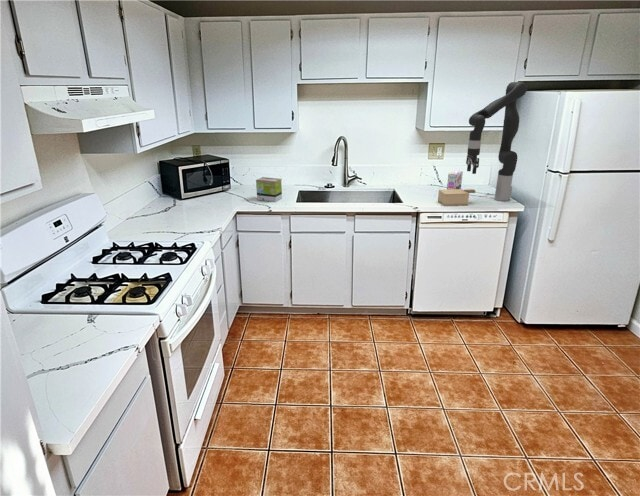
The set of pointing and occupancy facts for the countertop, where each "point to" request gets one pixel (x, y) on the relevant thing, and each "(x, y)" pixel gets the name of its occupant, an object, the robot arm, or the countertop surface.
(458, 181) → the candy box
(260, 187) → the tea box
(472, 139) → the robot arm
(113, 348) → the countertop surface
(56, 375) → the countertop surface
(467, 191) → the lid
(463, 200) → the base
